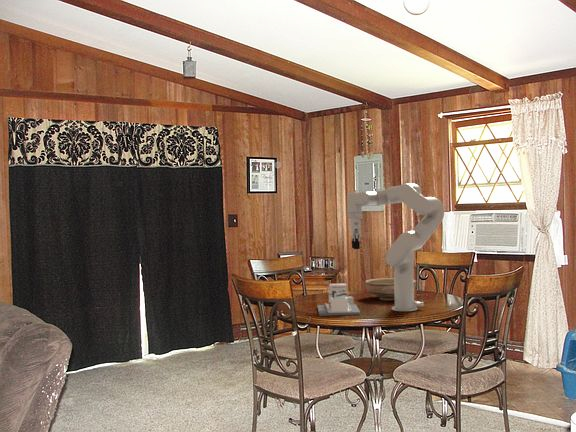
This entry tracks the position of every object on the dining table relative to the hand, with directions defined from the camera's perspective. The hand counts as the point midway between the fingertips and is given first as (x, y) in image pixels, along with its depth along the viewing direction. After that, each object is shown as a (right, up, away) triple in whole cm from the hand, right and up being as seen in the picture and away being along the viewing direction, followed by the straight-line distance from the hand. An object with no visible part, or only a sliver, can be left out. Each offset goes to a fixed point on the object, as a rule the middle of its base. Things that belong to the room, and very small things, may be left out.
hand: (355, 248), depth 335 cm
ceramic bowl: (+22, -30, +24) cm, 44 cm away
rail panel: (-10, -31, -13) cm, 35 cm away
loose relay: (-3, -30, +7) cm, 31 cm away
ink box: (-10, -29, -14) cm, 34 cm away
